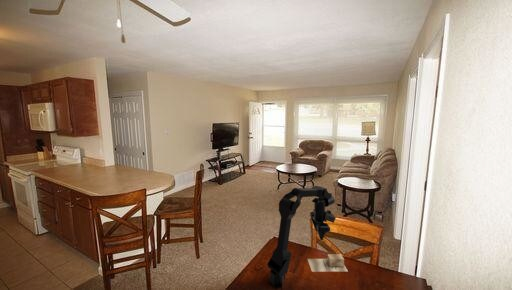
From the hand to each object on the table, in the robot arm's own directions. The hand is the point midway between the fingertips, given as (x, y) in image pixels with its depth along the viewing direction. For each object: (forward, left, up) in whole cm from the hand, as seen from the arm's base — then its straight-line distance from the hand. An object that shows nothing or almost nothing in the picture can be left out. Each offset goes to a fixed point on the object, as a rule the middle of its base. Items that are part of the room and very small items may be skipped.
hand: (319, 235), depth 122 cm
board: (-4, -9, -12) cm, 16 cm away
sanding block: (0, -11, -11) cm, 16 cm away
